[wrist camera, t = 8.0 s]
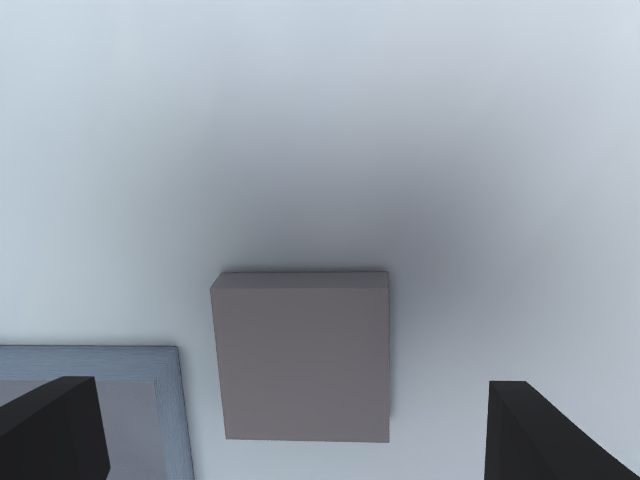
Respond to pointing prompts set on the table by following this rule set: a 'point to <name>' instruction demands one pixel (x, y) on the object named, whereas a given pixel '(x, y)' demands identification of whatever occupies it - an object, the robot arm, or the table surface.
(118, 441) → the plate
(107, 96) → the table surface
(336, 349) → the gray square block
